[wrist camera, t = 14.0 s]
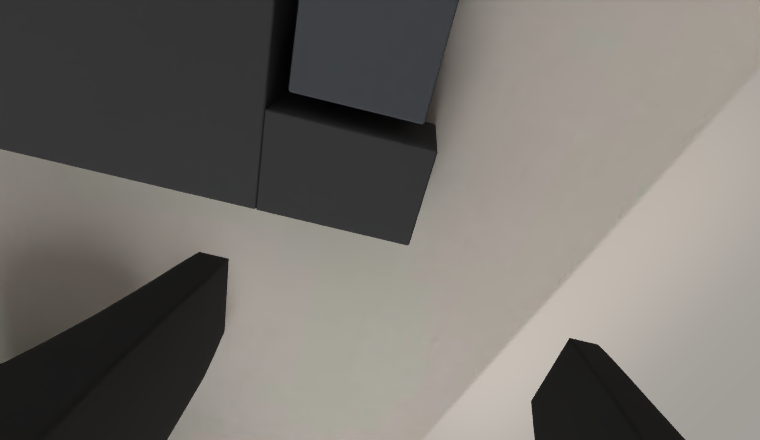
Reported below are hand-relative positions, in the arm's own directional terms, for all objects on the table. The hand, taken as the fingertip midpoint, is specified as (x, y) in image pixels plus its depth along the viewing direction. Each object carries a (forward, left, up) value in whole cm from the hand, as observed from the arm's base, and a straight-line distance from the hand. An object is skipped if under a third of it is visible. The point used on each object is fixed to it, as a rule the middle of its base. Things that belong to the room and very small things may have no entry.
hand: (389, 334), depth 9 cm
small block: (+4, -3, -10) cm, 12 cm away
